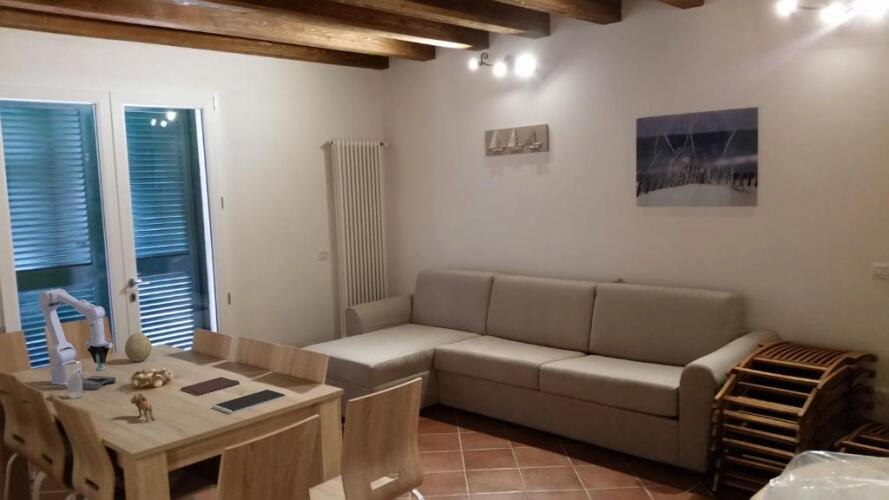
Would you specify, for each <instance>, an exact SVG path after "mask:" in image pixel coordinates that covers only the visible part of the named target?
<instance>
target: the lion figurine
mask: <svg viewBox="0 0 889 500" xmlns="http://www.w3.org/2000/svg"><path fill="white" fill-rule="evenodd" d="M133 395H134V396H133V397H132V398H131V399H130V400H129V402H130V403H131V404H132V405H135V406H136V408H137V409H138V411H137V412H138V416H137V417H139V419H140V418H142V417H143V415H144V417H145V421H144V422H145V423H148V422H149V421H150V420H149V418H150V419H151V420H152V421H156V419H155V417H154V415H153V406H152V404H151V403H150V402H148V400H147V398H146V397H145V395H144V394H142V393H139V392H136V393H134V394H133ZM148 416H149V417H148Z"/></svg>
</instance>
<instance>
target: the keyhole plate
mask: <svg viewBox="0 0 889 500" xmlns="http://www.w3.org/2000/svg"><path fill="white" fill-rule="evenodd" d="M104 384H110V385H111V384H112V385H115V384H117V381H116V376H114V377H113V376H106V375H105V376H104V375H91V376H88V377H85V378H83V390H90V391H91V390H92V391H98V390H99V389H100V388H99V386H101V385H104Z"/></svg>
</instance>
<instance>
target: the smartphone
mask: <svg viewBox="0 0 889 500" xmlns="http://www.w3.org/2000/svg"><path fill="white" fill-rule="evenodd" d="M283 397H284V398H286V397H287V394H286V393H282V392H280V391H276V390H273V389H264V390H260V391H257V392H254V393H250V394H247V395H242V396H240V397H237V398H233V399H229V400H227V401H223V402H219V403H216V404H213V405H212V409H213V410H216V411H219V412H222V413H225V414H228V415H234V414H237V413H240V412H242V410H243V411H247V410H249V409H251V408H252V409H253V408H255V407H258V405H259V406H261V404H262V405H264V403H265V404H268V403H271V402H274V401H276V400H280V398H281V399H283ZM248 408H249V409H248ZM239 411H240V412H239Z"/></svg>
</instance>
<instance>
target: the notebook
mask: <svg viewBox="0 0 889 500" xmlns="http://www.w3.org/2000/svg"><path fill="white" fill-rule="evenodd" d="M235 385H236V386H239V385H240V381H239V380H236V379H232V378H231V379H230V378H227V377H224V376H220V377H216V378H211V379H209V380H208V379H207V380H205V381H202V382H197V383H194V384H191V385H190V384H189V385H186V386H182V387H181V388H180V390H181V391H183V392H186V393H190V394H193V395H196V396H198V395H199V396H200V395H201V396H203V394H204V395H208V394H211V393H214V391H215V392H218V391H221V389H222V390H225V389H228V387H229V388H231V387H235ZM217 390H218V391H217ZM210 392H211V393H210ZM207 393H208V394H207Z"/></svg>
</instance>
